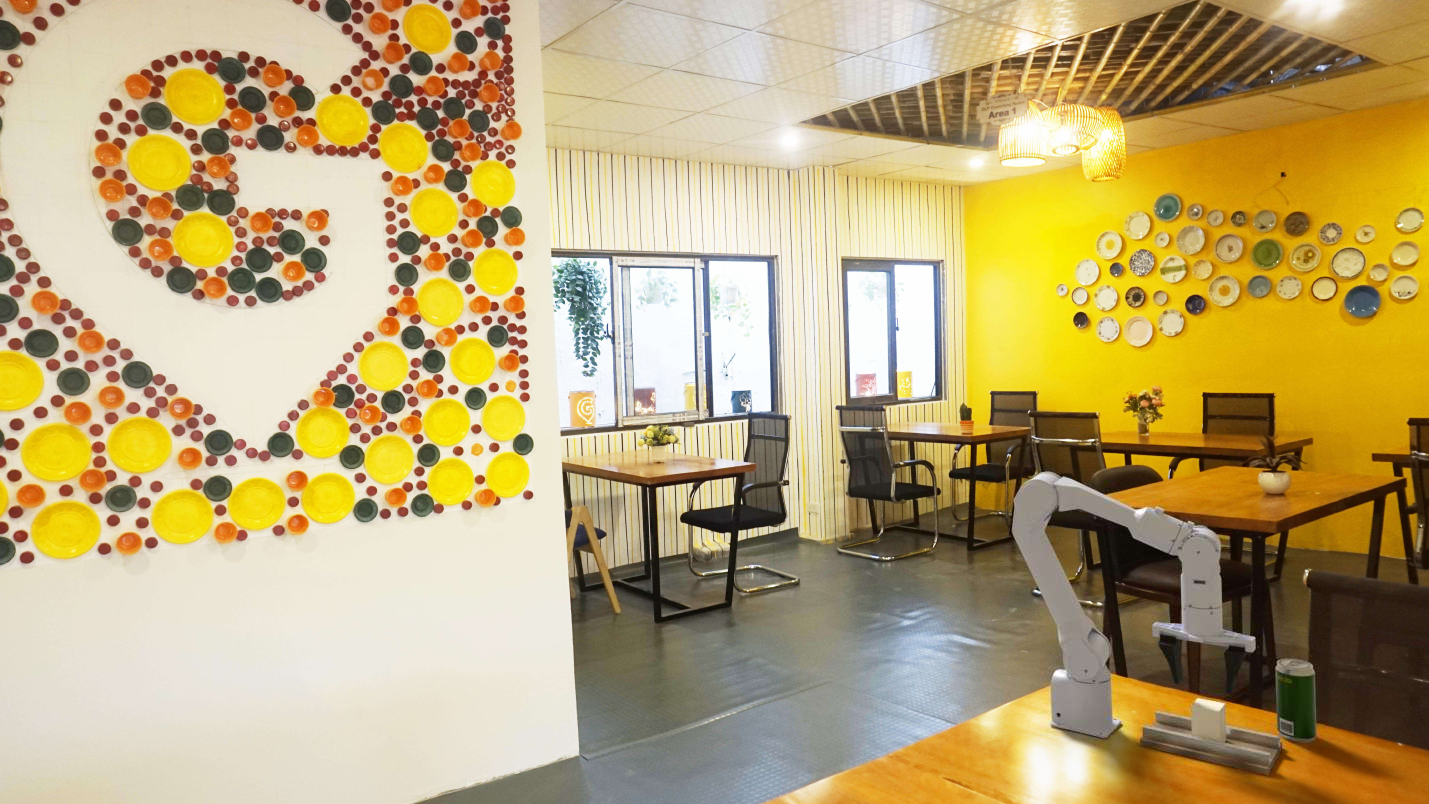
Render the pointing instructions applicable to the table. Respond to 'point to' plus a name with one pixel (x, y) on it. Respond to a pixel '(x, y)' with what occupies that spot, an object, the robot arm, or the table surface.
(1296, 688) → the beer can
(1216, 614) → the robot arm
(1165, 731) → the track
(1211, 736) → the cream block
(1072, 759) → the table surface
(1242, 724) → the table surface
